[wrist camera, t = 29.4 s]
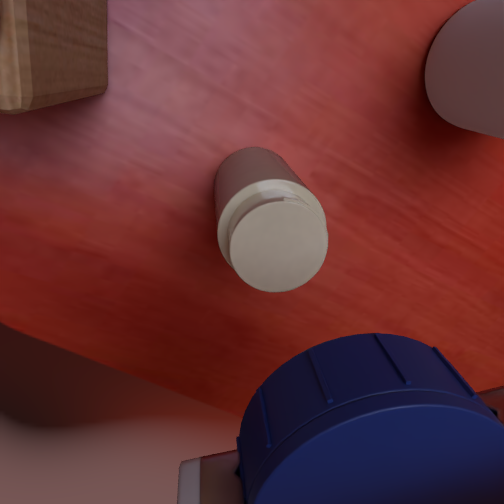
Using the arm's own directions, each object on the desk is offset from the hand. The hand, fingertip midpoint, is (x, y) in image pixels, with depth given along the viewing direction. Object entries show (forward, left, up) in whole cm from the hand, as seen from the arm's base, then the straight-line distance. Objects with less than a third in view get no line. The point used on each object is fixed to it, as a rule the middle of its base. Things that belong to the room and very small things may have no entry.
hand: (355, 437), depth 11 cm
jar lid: (0, 0, +2) cm, 2 cm away
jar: (+1, +1, -21) cm, 21 cm away
